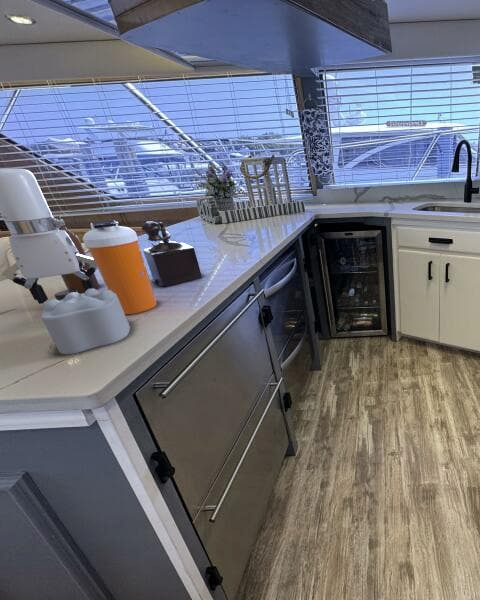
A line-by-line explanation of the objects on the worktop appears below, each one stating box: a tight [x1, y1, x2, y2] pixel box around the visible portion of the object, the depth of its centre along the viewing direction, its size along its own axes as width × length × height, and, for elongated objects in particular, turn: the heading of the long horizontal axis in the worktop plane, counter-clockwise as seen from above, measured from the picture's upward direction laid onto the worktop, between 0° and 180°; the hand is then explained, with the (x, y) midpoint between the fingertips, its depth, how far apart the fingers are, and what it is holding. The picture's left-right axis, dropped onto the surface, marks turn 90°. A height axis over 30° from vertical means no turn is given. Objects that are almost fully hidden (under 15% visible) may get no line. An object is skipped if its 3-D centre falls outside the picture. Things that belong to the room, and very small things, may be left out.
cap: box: [53, 289, 78, 301], centre depth 80 cm, size 4×4×3 cm
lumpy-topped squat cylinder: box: [40, 289, 131, 355], centre depth 62 cm, size 10×13×9 cm
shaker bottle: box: [82, 219, 158, 315], centre depth 72 cm, size 9×9×20 cm
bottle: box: [52, 215, 101, 294], centre depth 86 cm, size 6×6×20 cm
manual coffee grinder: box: [141, 221, 202, 287], centre depth 90 cm, size 16×11×18 cm
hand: (68, 297), depth 79 cm, fingers open, 8 cm apart
